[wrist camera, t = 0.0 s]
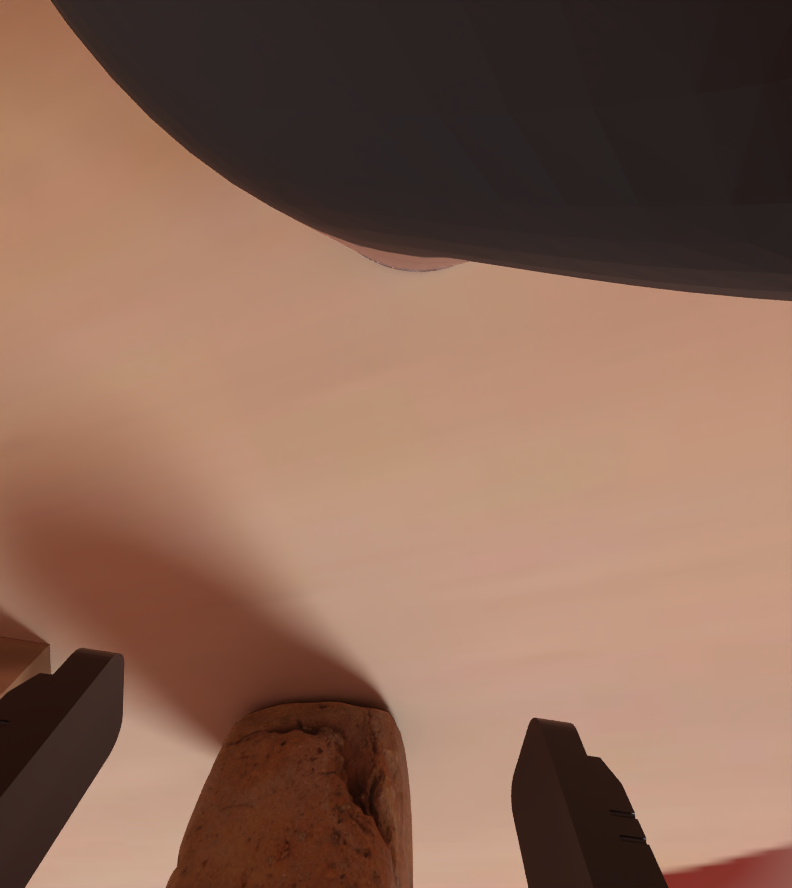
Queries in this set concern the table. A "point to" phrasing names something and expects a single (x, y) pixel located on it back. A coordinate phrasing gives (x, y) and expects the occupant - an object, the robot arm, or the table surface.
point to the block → (303, 804)
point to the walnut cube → (21, 662)
